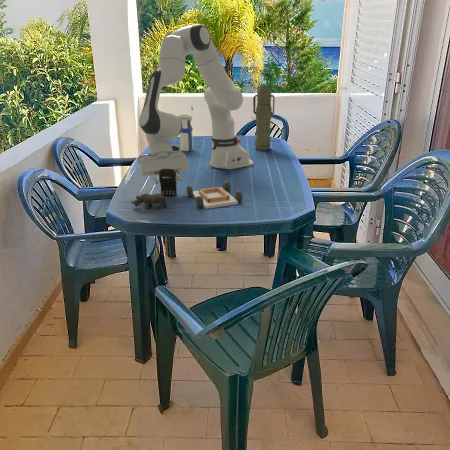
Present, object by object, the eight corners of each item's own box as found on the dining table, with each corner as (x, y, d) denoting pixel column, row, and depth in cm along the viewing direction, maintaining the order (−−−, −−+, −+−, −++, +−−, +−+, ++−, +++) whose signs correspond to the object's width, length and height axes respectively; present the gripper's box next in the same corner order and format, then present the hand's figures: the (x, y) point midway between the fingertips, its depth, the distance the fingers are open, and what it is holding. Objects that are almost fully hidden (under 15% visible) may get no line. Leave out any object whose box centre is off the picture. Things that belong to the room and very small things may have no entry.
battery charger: (159, 196, 182) (157, 170, 178) (161, 193, 186) (159, 167, 181) (176, 197, 182) (174, 170, 177) (177, 194, 185) (176, 168, 181)
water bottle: (187, 146, 260) (185, 103, 250) (196, 149, 255) (195, 105, 245) (176, 149, 255) (174, 105, 245) (186, 151, 250) (184, 107, 239)
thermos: (252, 146, 260) (254, 85, 246) (272, 147, 259) (275, 85, 244) (251, 150, 252) (253, 86, 238) (272, 150, 251) (275, 87, 236)
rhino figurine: (133, 206, 173) (131, 191, 171) (167, 206, 173) (166, 191, 170) (130, 209, 170) (129, 195, 167) (165, 210, 169) (165, 195, 167)
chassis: (225, 189, 190) (225, 179, 189) (242, 203, 175) (242, 192, 173) (186, 194, 184) (185, 184, 183) (199, 209, 169) (199, 198, 167)
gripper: (136, 151, 179) (143, 181, 174) (184, 146, 186) (192, 175, 181) (135, 159, 184) (142, 188, 180) (182, 154, 191) (189, 182, 187)
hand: (168, 181), depth 181 cm, fingers open, 8 cm apart
